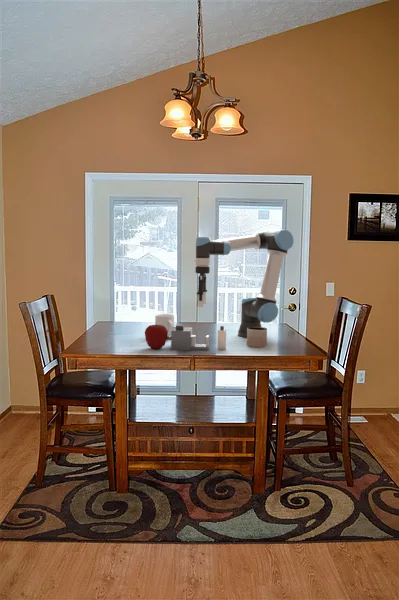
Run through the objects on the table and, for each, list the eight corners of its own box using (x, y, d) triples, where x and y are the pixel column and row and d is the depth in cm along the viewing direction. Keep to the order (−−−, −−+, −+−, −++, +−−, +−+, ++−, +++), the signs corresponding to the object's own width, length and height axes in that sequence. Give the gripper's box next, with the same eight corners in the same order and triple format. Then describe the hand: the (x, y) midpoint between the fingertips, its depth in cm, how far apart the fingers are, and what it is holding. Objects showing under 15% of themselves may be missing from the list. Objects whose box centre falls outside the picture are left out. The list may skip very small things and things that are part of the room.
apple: (148, 351, 241) (148, 325, 240) (142, 347, 252) (141, 322, 250) (171, 349, 246) (171, 324, 245) (163, 345, 257) (163, 321, 255)
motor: (208, 346, 257) (209, 324, 256) (208, 350, 246) (208, 327, 244) (168, 344, 259) (168, 323, 257) (165, 349, 247) (165, 326, 245)
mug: (180, 339, 276) (181, 316, 274) (164, 340, 270) (164, 318, 268) (168, 334, 288) (168, 313, 287) (151, 336, 282) (151, 314, 281)
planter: (261, 348, 254) (262, 330, 252) (243, 346, 259) (243, 328, 258) (269, 345, 263) (270, 327, 262) (252, 342, 268) (252, 325, 267)
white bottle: (225, 348, 253) (226, 325, 252) (225, 349, 249) (226, 327, 247) (217, 347, 253) (217, 325, 252) (217, 349, 249) (217, 326, 248)
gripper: (198, 264, 269) (197, 302, 271) (192, 266, 244) (192, 308, 246) (211, 265, 268) (210, 302, 270) (207, 267, 243) (206, 308, 246)
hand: (201, 305), depth 258 cm, fingers open, 13 cm apart
